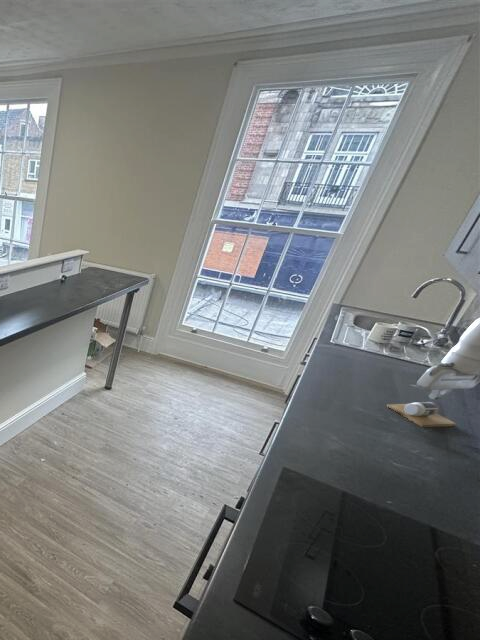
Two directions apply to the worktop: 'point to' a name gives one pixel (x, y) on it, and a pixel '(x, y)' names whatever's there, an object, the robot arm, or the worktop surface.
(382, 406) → the worktop surface
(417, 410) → the pill bottle
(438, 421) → the board
